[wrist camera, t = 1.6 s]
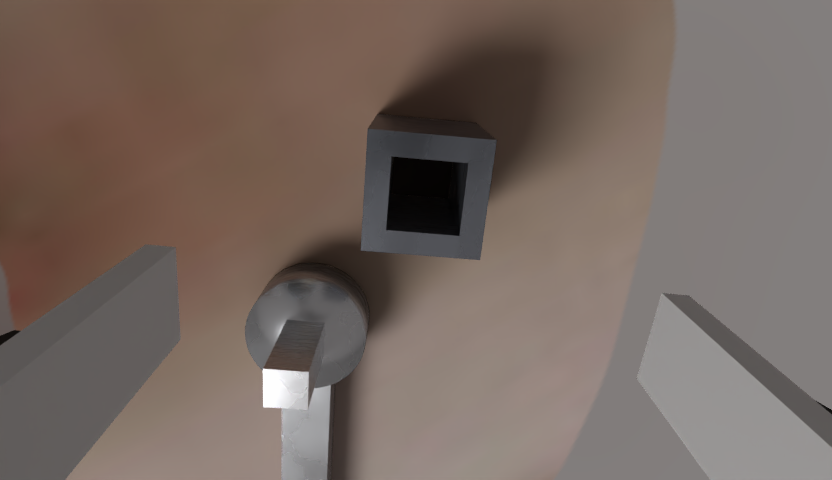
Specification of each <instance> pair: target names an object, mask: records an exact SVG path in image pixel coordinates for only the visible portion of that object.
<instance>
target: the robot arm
mask: <svg viewBox="0 0 832 480" xmlns="http://www.w3.org/2000/svg"><path fill="white" fill-rule="evenodd" d="M179 340H180V322H179V303H178V283H177V264H176V247H167V246H156V245H144V246H143V247H141V248H140V249H139V250H137V251H136V252H134V253H133V254H131V255H130V256H129V257H127V258H126V259H124V260H123V261H121V262H120V263H118V264H117V265H116V266H114V267H113V268H111V269H110V270H108V271H107V272H105V273H104V274H103V275H101V276H100V277H98V278H97V279H95V280H94V281H92V282H91V283H90V284H88V285H87V286H85V287H84V288H82V289H81V290H79V291H78V292H77V293H75V294H74V295H72V296H71V297H69V298H68V299H66V300H65V301H64V302H62V303H61V304H59V305H58V306H56V307H55V308H54V309H52V310H51V311H49V312H48V313H46V314H45V315H43V316H42V317H41V318H39V319H38V320H36V321H35V322H33V323H32V324H30V325H29V326H28V327H26V328H25V329H23V330H22V331H16V330H13V331H11V332H9V333H6V334H4V335H1V336H0V480H65V479H66V478H67V477H68V475H69V474H70V473H71V472H72V470H73V469H74V468H75V467H76V466H77V464H78V463H79V462H80V461H81V460H82V458H83V457H84V456H85V455H86V453H87V452H88V451H89V450H90V449H91V447H92V446H93V445H94V444H95V443H96V441H97V440H98V439H99V438H100V436H101V435H102V434H103V433H104V432H105V430H106V429H107V428H108V427H109V426H110V424H111V423H112V422H113V421H114V419H115V418H116V417H117V416H118V415H119V413H120V412H121V411H122V410H123V409H124V407H125V406H126V405H127V404H128V402H129V401H130V400H131V399H132V398H133V396H134V395H135V394H136V393H137V392H138V390H139V389H140V388H141V387H142V385H143V384H144V383H145V382H146V381H147V379H148V378H149V377H150V376H151V375H152V373H153V372H154V371H155V370H156V368H157V367H158V366H159V365H160V364H161V362H162V361H163V360H164V359H165V357H166V356H167V355H168V354H169V353H170V351H171V350H172V349H173V348H174V347H175V345H176V344H177V343H178V342H179ZM637 379H638V381H639V382H640V384H641V385H642V386H643V388H644V389H645V390H646V392H647V393H648V394H649V396H650V397H651V398H652V400H653V402H654V403H655V404H656V406H657V407H658V408H659V410H660V411H661V413H662V414H663V415H664V417H665V418H666V419H667V421H668V422H669V423H670V425H671V426H672V428H673V429H674V430H675V432H676V433H677V435H678V436H679V437H680V439H681V440H682V442H683V443H684V444H685V446H686V447H687V449H688V450H689V451H690V453H691V454H692V455H693V457H694V458H695V460H696V461H697V462H698V464H699V465H700V466H701V468H702V469H703V471H704V472H705V473H706V475H707V476H708V478H709V479H710V480H832V410H831V409H829V408H827V407H826V406H824V405H822V404H820V403H819V402H817V401H815V400H814V399H813V398H811V397H810V396H809V395H808V394H807V393H805V392H804V391H803V390H802V389H800V388H799V387H798V386H797V385H796V384H795V383H793V382H792V381H791V380H790V379H789V378H787V377H786V376H785V375H784V374H782V373H781V372H780V371H779V370H778V369H777V368H775V367H774V366H773V365H772V364H770V363H769V362H768V361H767V360H766V359H764V358H763V357H762V356H761V355H760V354H758V353H757V352H756V351H755V350H754V349H752V348H751V347H750V346H749V345H748V344H746V343H745V342H744V341H743V340H741V339H740V338H739V337H738V336H737V335H736V334H734V333H733V332H732V331H730V329H728V328H727V327H726V326H725V325H723V324H722V323H721V322H720V321H719V320H717V319H716V318H715V317H714V316H713V315H712V314H710V313H709V312H708V311H707V310H706V309H704V308H703V307H702V306H701V305H699V304H698V303H697V302H696V301H695V300H693V299H692V298H691V297H690V296H687V295H676V294H665V293H662V295H661V298H660V301H659V305H658V308H657V312H656V315H655V318H654V322H653V325H652V328H651V332H650V335H649V339H648V342H647V345H646V349H645V352H644V356H643V359H642V363H641V366H640V369H639V373H638V376H637Z"/></svg>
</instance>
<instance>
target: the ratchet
mask: <svg viewBox="0 0 832 480" xmlns="http://www.w3.org/2000/svg"><path fill="white" fill-rule="evenodd" d="M368 323H369V307H368V303H367V299H366V297H365V295H364V293H363V291H362V289H361V288H360V286H359V285H358V284H357V283H356V282H355V281H354V280H353V279H352V278H351V277H350V276H348V275H347V274H346V273H344V272H342V271H341V270H339V269H337V268H334V267H332V266H328V265H325V264H318V263H304V264H298V265H294V266H291V267H289V268H286V269H285V270H283V271H281V272H280V273H278V274H277V275H275V276H274V277H273V278H272V279H271V280H270V282H269V283H268V284H267V286H266V287H265V289H264V290H263V292H262V293H261V295H260V296H259V298H258V300H257V301H256V303H255V304H254V306H253V307H252V309H251V311H250V313H249V315H248V318H247V321H246V326H245V338H246V343H247V347H248V350H249V352H250V354H251V356H252V358H253V360H254V361H255V362H256V364H257V365H258V366H259V367H260V368H261V369H262V370H263V407H272V408H282V480H331V466H332V444H333V421H334V398H335V383H336V382H339V381H340V380H342V379H344V378H345V377H346V376H348V375H349V374H350V373H351V372H352V371H353V370H354V369H355V368H356V366H357V365H358V363H359V362H360V360H361V358H362V355H363V352H364V349H365V343H366V336H367V330H368Z"/></svg>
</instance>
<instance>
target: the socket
mask: <svg viewBox="0 0 832 480" xmlns="http://www.w3.org/2000/svg"><path fill="white" fill-rule="evenodd" d="M496 142H497V140H496V139H495V138H494V137H492V136H491V135H490V134H489V133H488V132H487V131H485V130H484V129H483V128H482V127H481V126H480V125H478V124H477V123H473V122H462V121H451V120H440V119H429V118H417V117H406V116H395V115H384V114H377V115H376V117H375V118H374V120H373V121H372V123H371V125H370V126H369V128H368V134H367V151H366V169H365V186H364V204H363V221H362V238H361V251H373V252H385V253H398V254H411V255H423V256H436V257H449V258H461V259H474V260H480V256H481V249H482V242H483V235H484V227H485V220H486V213H487V206H488V199H489V192H490V185H491V178H492V170H493V163H494V156H495V149H496ZM394 157H404V158H415V159H427V160H438V161H450V162H452V171H451V179H450V188H449V197H448V198H439V197H427V196H415V195H403V194H391V189H392V176H393V162H394Z"/></svg>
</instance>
